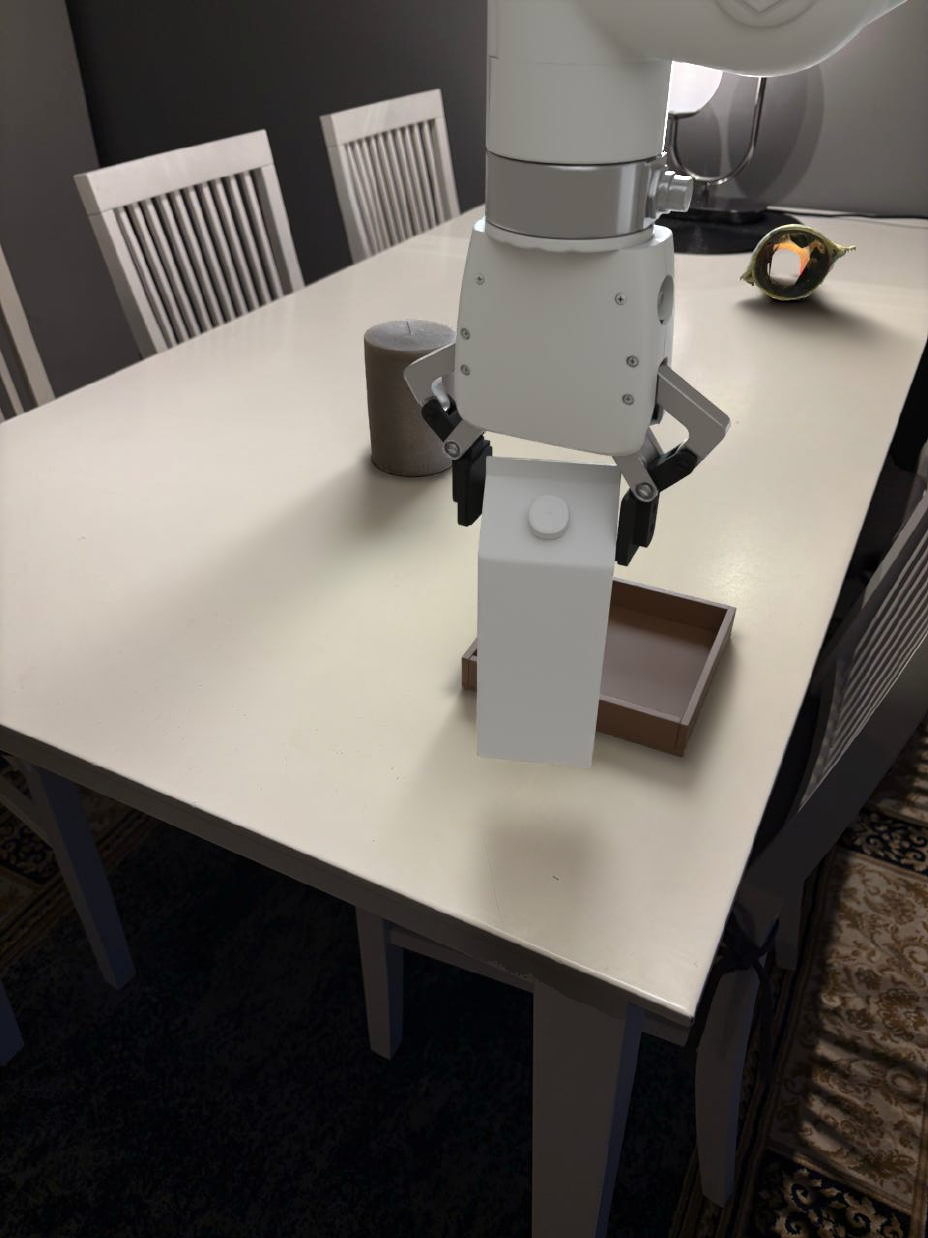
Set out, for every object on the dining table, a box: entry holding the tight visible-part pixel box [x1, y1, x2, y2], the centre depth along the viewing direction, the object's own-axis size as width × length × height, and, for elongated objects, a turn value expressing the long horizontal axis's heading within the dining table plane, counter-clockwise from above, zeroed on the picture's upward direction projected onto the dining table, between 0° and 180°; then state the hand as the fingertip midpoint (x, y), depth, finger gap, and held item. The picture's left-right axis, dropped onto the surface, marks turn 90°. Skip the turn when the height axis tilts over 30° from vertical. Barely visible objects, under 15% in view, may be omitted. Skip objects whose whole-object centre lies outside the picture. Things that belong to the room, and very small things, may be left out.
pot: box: [738, 223, 858, 301], centre depth 145 cm, size 17×11×18 cm
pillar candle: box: [363, 318, 457, 477], centre depth 96 cm, size 10×10×15 cm
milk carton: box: [476, 455, 622, 769], centre depth 53 cm, size 7×7×19 cm
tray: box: [461, 575, 738, 758], centre depth 71 cm, size 17×15×3 cm
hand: (549, 532), depth 50 cm, fingers closed on milk carton, 8 cm apart
